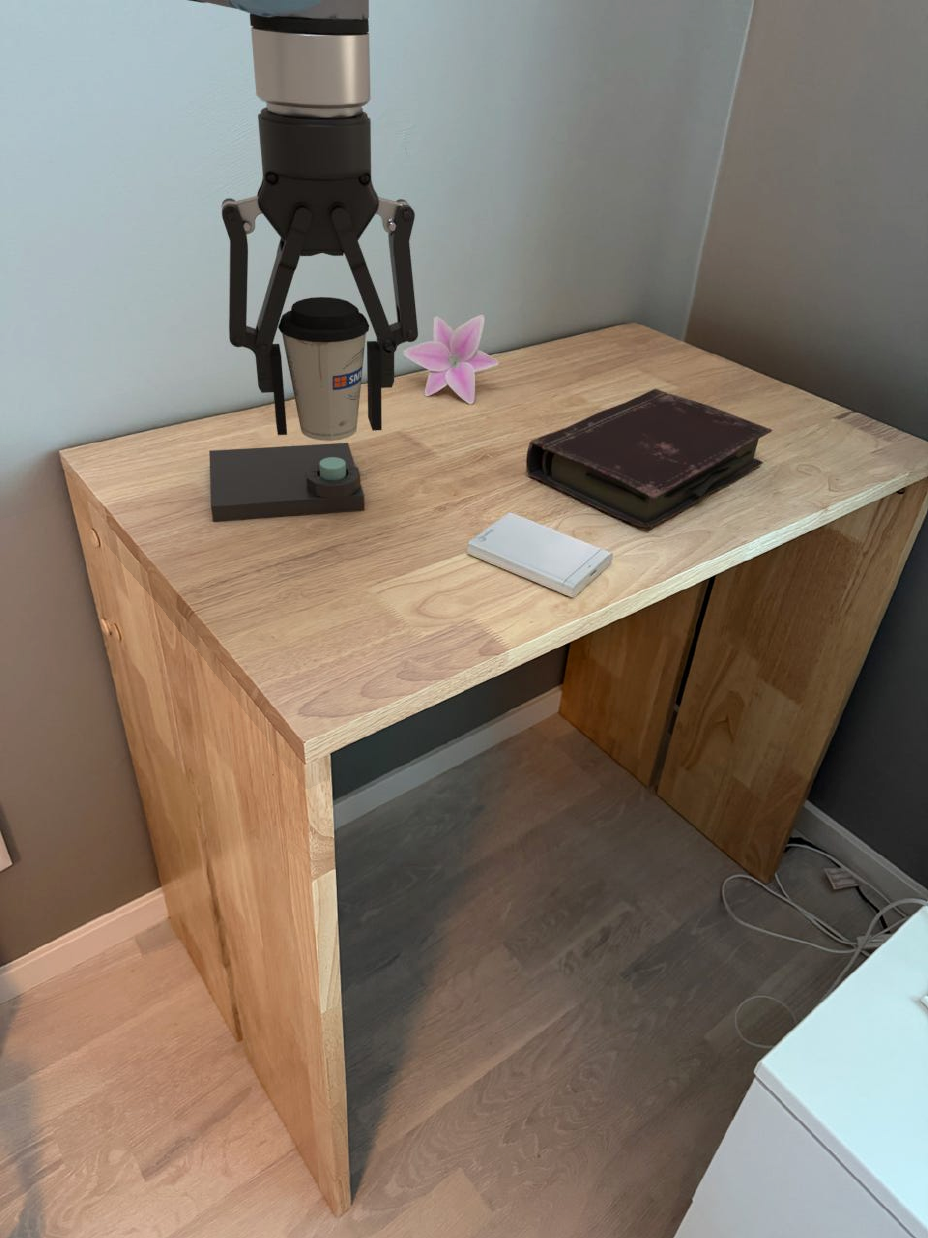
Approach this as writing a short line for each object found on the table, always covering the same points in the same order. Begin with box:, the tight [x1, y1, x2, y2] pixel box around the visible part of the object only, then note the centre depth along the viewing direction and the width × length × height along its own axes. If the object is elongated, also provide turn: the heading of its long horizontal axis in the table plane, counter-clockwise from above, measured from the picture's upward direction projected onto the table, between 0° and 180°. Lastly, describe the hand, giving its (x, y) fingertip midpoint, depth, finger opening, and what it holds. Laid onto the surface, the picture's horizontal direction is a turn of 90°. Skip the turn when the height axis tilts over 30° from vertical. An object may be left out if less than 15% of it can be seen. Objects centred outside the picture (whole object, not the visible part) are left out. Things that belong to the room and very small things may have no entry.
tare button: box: [319, 457, 346, 480], centre depth 95 cm, size 3×3×2 cm
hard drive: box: [466, 512, 614, 598], centre depth 89 cm, size 2×8×12 cm
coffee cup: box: [277, 296, 370, 442], centre depth 70 cm, size 7×7×10 cm
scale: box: [208, 442, 365, 522], centre depth 98 cm, size 16×13×4 cm
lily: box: [402, 314, 500, 405], centre depth 122 cm, size 12×12×10 cm
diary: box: [525, 388, 773, 528], centre depth 105 cm, size 19×25×5 cm
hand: (328, 425), depth 73 cm, fingers closed on coffee cup, 7 cm apart
